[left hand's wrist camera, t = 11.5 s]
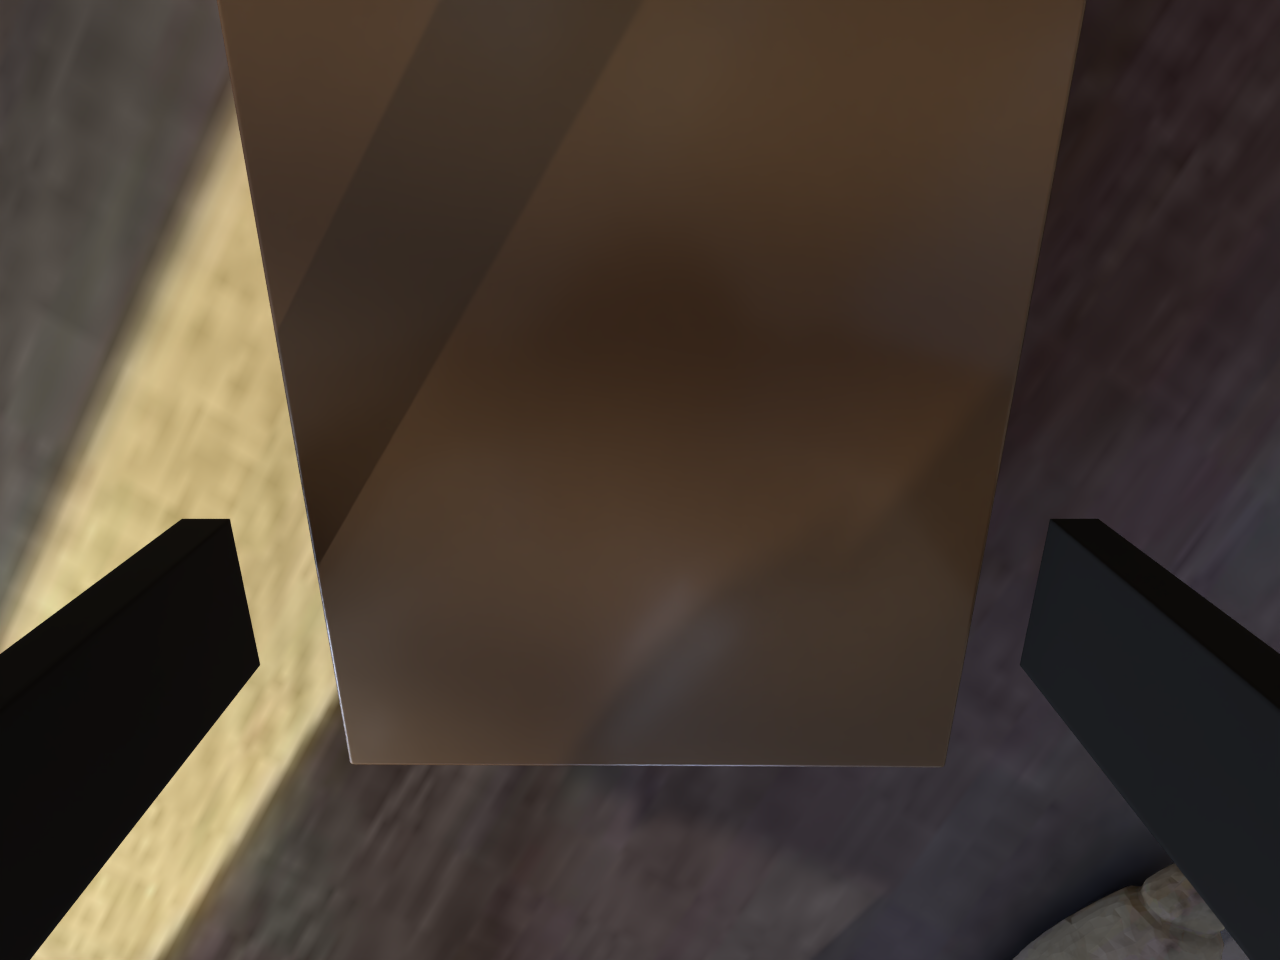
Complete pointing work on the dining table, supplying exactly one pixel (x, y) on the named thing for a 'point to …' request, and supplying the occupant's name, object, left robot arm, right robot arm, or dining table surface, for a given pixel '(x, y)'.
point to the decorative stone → (1136, 926)
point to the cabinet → (649, 358)
